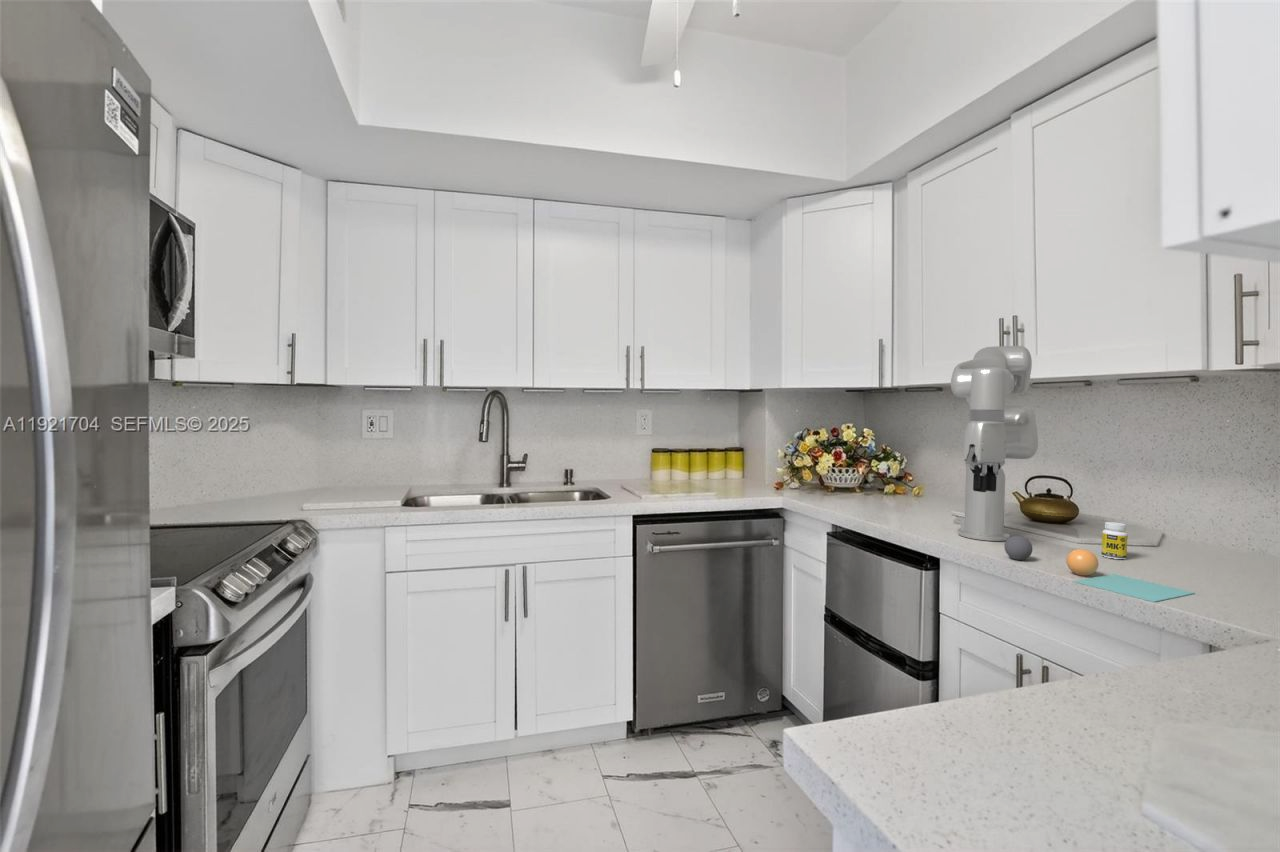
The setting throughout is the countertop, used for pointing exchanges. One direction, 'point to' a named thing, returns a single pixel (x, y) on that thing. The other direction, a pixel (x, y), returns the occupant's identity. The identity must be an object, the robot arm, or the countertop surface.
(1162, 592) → the teal mark
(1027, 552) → the grey egg-shaped ball
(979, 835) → the countertop surface
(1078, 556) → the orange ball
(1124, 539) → the supplement bottle
